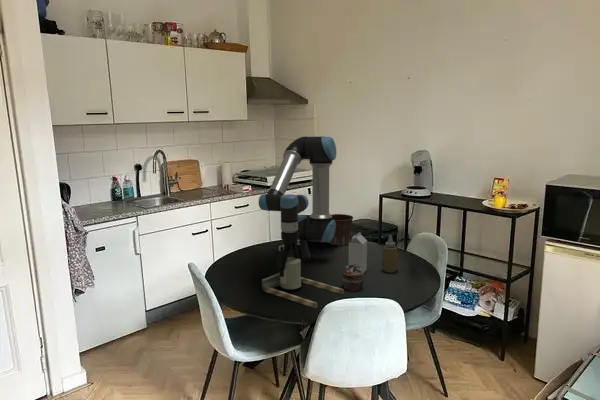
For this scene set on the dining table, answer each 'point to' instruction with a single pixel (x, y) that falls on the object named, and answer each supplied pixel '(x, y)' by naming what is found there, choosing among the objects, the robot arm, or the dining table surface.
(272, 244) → the dining table surface
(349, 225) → the plant pot
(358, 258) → the milk carton
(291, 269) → the can
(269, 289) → the guide track
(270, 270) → the dining table surface
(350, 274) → the cupcake
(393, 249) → the squeeze bottle
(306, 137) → the robot arm
